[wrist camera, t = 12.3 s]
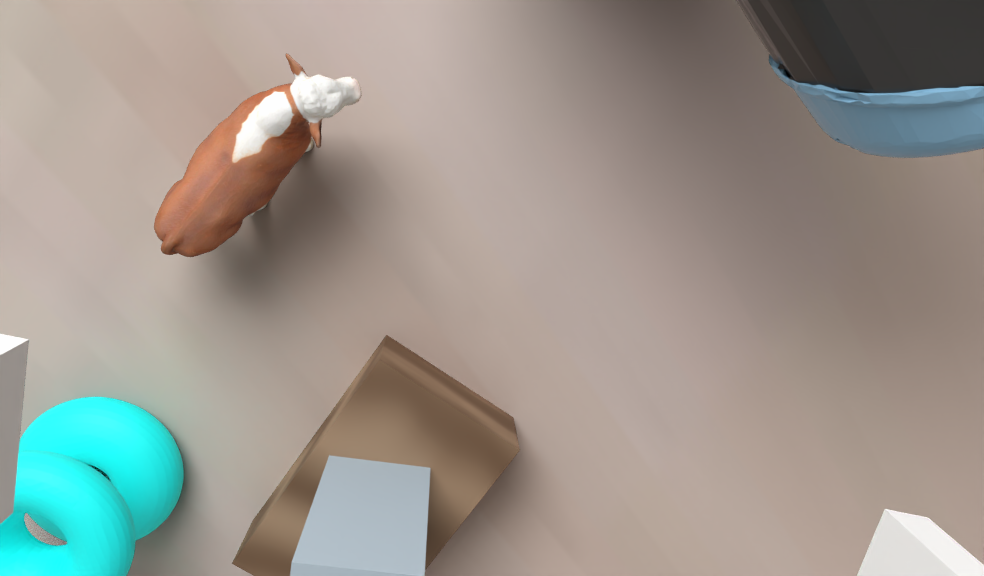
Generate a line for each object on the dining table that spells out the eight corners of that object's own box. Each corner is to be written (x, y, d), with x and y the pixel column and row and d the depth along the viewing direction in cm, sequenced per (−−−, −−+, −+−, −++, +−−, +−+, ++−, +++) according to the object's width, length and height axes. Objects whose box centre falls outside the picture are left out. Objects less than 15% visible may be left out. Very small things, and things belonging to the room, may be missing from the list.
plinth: (387, 332, 44) (379, 359, 39) (512, 414, 46) (519, 450, 41) (254, 517, 47) (231, 563, 42) (378, 587, 49) (370, 639, 44)
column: (329, 455, 41) (291, 562, 31) (430, 467, 41) (424, 576, 32) (318, 544, 42) (279, 673, 32) (416, 555, 43) (406, 684, 33)
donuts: (144, 620, 37) (-44, 655, 36) (208, 514, 46) (60, 541, 46) (84, 452, 34) (-118, 488, 34) (165, 376, 44) (8, 404, 44)
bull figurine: (385, 101, 40) (369, 99, 33) (223, 253, 42) (171, 286, 34) (331, 42, 39) (301, 24, 32) (168, 199, 41) (101, 220, 33)
